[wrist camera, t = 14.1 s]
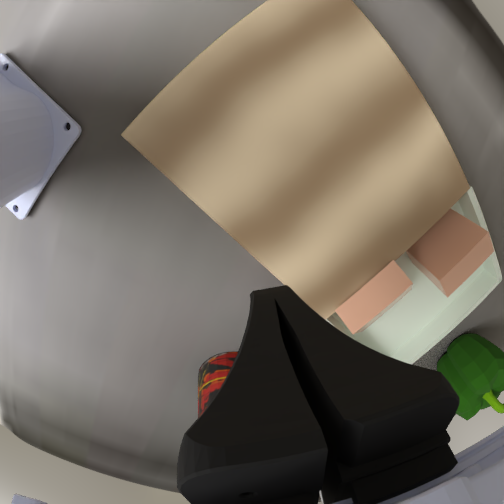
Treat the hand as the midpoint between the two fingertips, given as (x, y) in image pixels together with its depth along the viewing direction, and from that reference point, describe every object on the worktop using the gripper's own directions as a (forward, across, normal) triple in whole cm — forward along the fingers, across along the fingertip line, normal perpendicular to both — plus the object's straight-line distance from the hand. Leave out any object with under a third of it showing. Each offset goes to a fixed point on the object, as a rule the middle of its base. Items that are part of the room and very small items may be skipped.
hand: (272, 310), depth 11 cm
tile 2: (+7, -14, +3) cm, 16 cm away
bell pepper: (+10, -22, +20) cm, 31 cm away
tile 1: (+8, -8, +6) cm, 13 cm away
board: (+10, -5, -4) cm, 12 cm away
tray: (+10, -14, +8) cm, 19 cm away
